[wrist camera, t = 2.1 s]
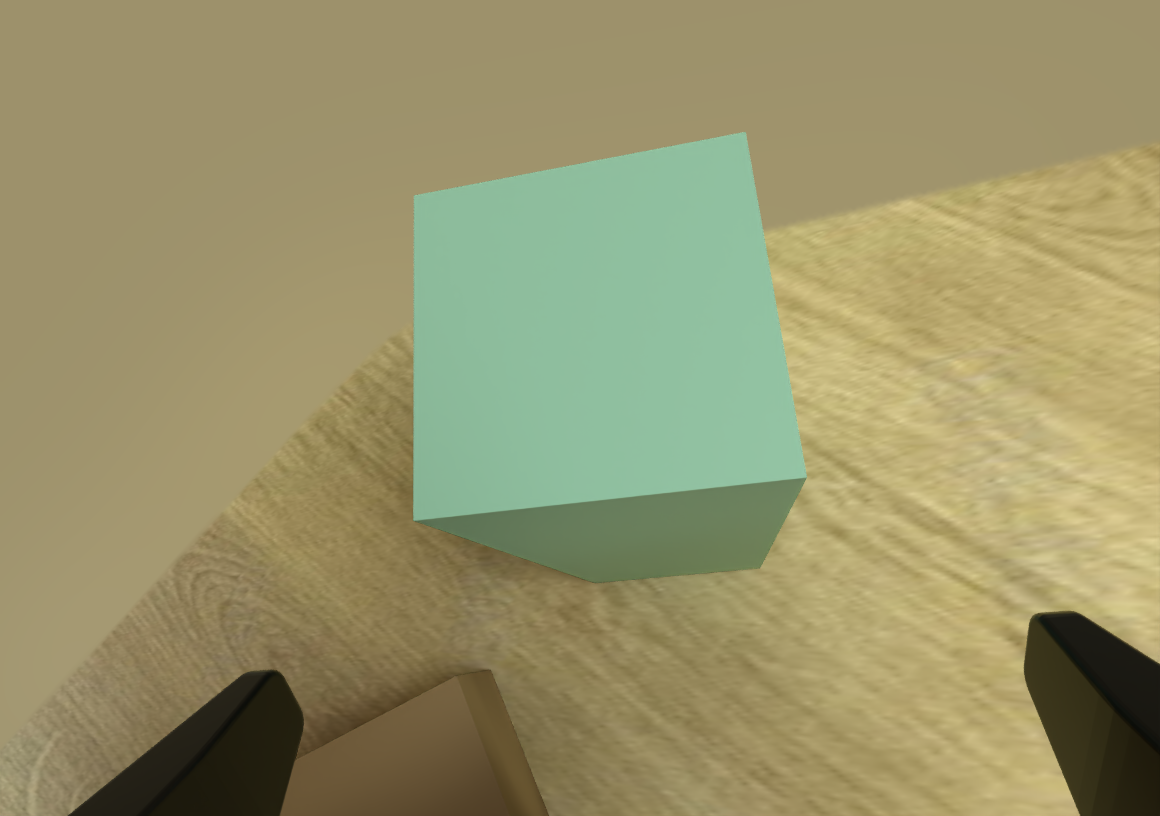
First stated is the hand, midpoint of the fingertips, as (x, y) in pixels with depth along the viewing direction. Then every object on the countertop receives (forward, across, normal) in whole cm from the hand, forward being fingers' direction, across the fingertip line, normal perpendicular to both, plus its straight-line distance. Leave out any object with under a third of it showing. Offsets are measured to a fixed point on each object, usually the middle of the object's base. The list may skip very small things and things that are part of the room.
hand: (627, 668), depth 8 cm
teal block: (+10, 0, +5) cm, 12 cm away
